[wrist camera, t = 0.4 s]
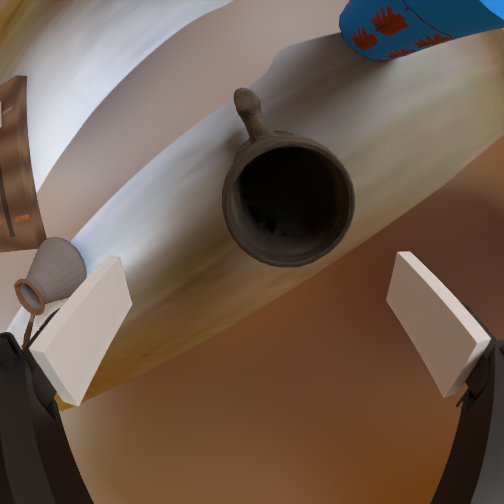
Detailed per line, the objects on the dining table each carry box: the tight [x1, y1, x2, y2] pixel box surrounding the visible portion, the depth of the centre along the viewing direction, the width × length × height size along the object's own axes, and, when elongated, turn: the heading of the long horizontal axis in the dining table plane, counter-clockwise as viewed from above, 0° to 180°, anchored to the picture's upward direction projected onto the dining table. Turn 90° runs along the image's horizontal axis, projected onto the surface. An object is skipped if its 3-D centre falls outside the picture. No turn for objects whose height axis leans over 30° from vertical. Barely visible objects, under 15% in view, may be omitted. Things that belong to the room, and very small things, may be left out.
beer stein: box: [222, 88, 355, 267], centre depth 27 cm, size 15×11×20 cm
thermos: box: [339, 0, 504, 61], centre depth 16 cm, size 11×11×25 cm
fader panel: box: [0, 75, 47, 252], centre depth 33 cm, size 32×14×3 cm, turn 3°
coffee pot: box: [14, 237, 87, 350], centre depth 38 cm, size 21×12×15 cm, turn 146°
